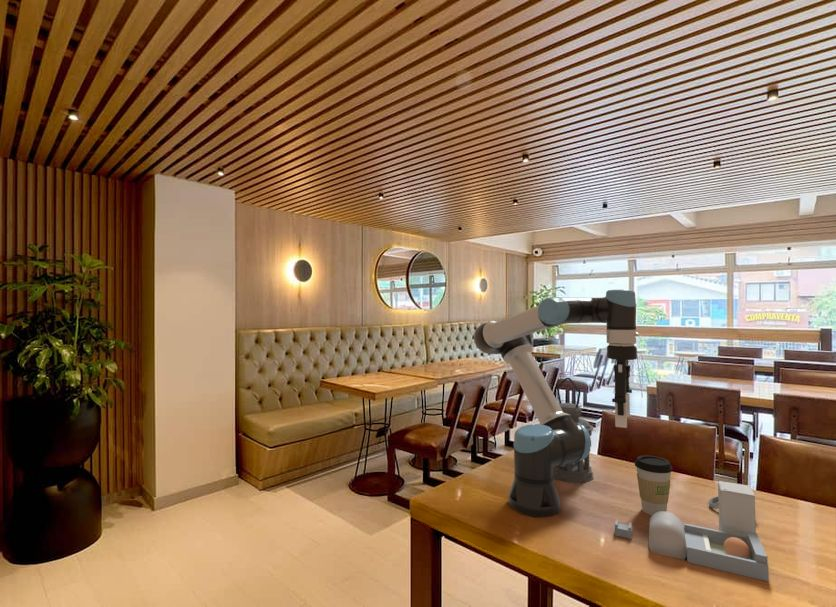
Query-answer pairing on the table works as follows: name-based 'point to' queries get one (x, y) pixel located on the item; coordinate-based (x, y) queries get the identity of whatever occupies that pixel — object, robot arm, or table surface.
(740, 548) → the ball
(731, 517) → the supplement box
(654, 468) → the coffee cup
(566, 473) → the lantern
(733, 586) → the table surface
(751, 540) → the grey molded pieces
